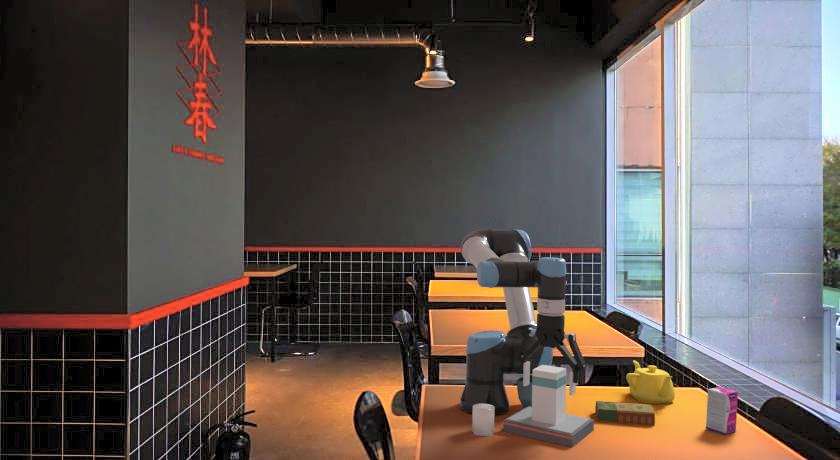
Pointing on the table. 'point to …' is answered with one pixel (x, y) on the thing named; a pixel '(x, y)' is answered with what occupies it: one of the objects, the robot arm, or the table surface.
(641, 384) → the teapot
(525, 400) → the flower pot
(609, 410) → the carton
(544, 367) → the carton
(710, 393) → the supplement box
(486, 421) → the white rounded capsule
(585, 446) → the table surface
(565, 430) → the podium
